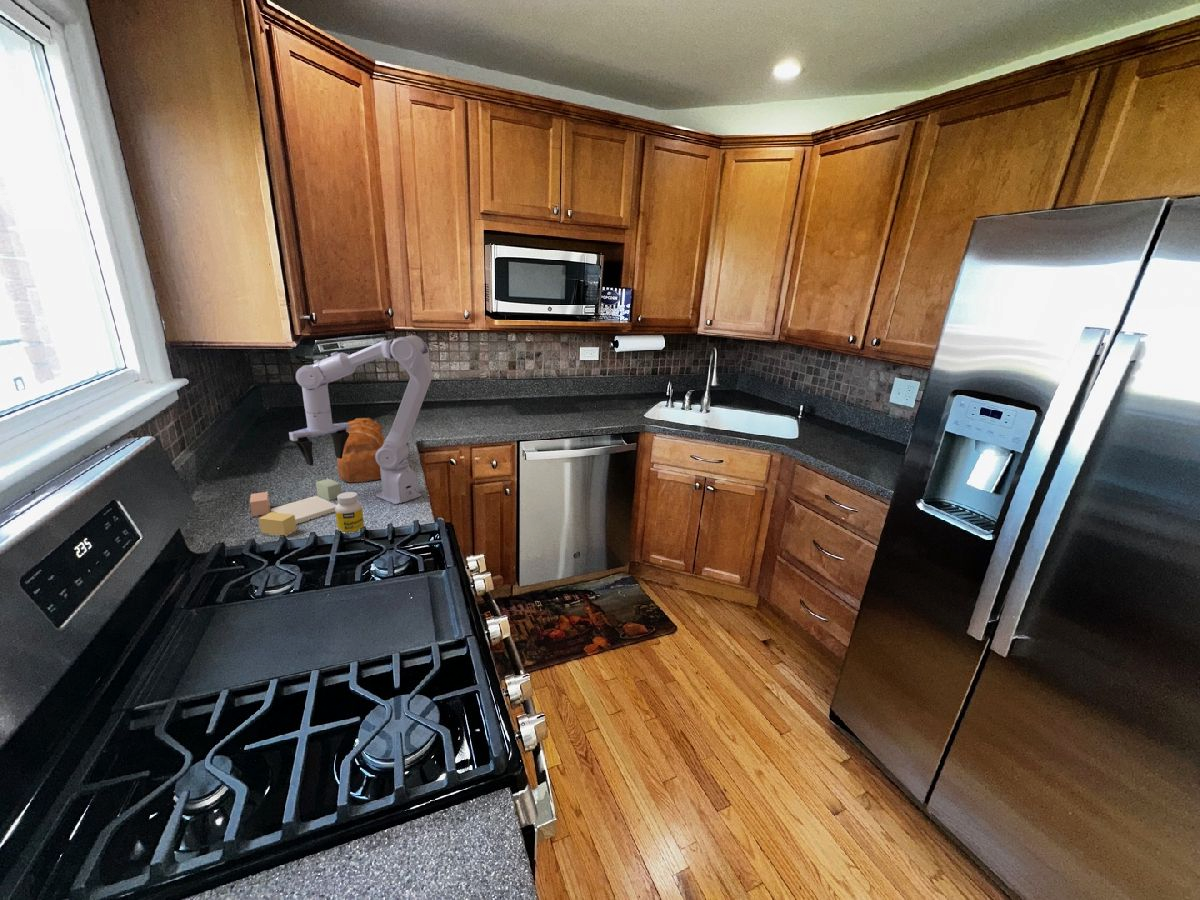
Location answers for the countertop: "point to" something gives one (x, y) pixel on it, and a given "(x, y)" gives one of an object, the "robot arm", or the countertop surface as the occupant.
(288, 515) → the mustard brick
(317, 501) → the board
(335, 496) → the sage brick
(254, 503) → the clay brick
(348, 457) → the bread
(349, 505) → the supplement bottle
